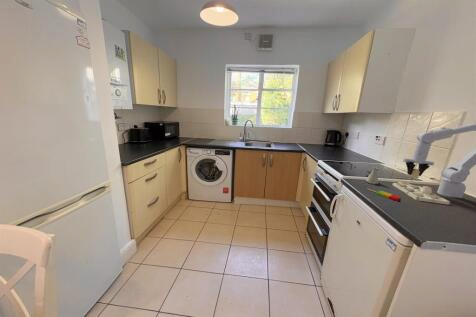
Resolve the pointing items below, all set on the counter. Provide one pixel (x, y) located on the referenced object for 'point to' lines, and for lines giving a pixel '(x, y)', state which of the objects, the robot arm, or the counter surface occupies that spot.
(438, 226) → the counter surface
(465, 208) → the counter surface
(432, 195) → the egg box
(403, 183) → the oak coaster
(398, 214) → the counter surface
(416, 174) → the egg
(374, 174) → the flask
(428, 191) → the egg
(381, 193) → the popsicle
